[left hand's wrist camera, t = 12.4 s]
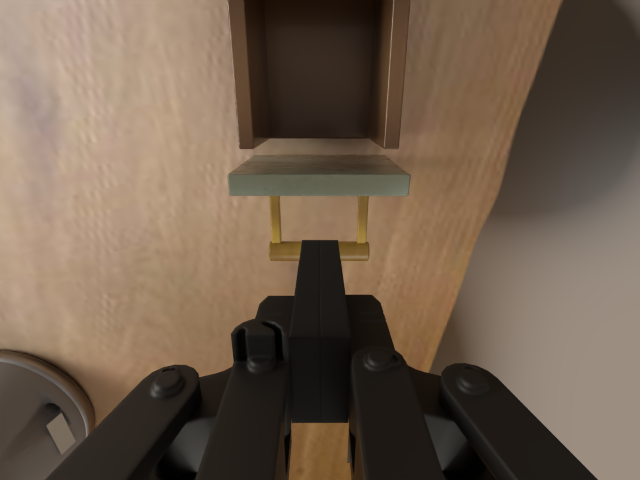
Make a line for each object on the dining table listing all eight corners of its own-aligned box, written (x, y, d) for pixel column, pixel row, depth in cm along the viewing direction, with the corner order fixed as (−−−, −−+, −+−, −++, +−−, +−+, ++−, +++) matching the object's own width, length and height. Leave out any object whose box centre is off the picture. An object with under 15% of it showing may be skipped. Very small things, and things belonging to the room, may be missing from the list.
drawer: (379, 238, 29) (400, 286, 21) (259, 238, 29) (237, 285, 21) (403, -139, 20) (453, -285, 13) (234, -139, 20) (183, -285, 13)
